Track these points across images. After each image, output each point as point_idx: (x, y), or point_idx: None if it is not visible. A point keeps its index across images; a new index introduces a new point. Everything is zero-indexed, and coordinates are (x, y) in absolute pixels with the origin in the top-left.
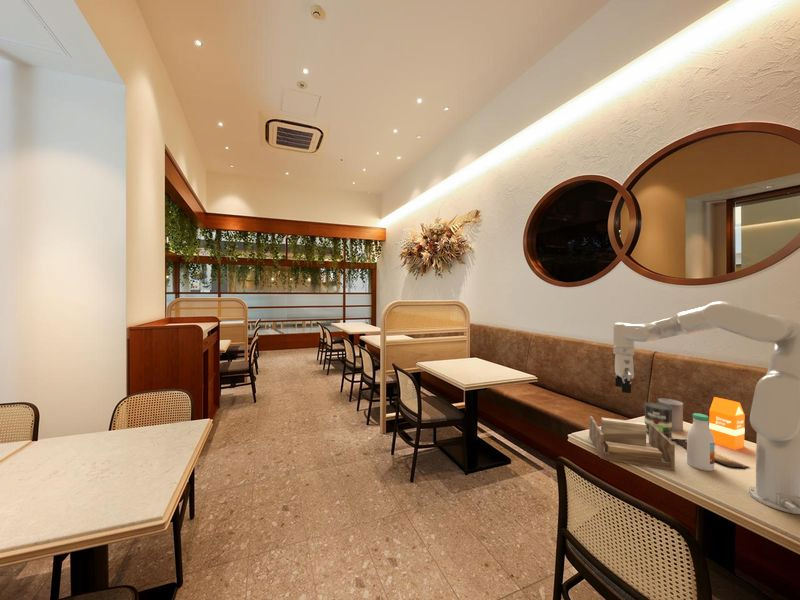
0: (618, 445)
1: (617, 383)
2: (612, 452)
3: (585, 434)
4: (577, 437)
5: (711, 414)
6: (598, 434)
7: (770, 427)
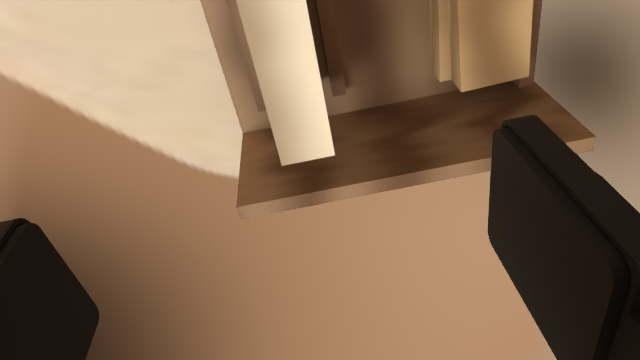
0: (498, 23)
1: (67, 346)
2: None
3: (221, 154)
4: None
5: None
6: None
7: None
